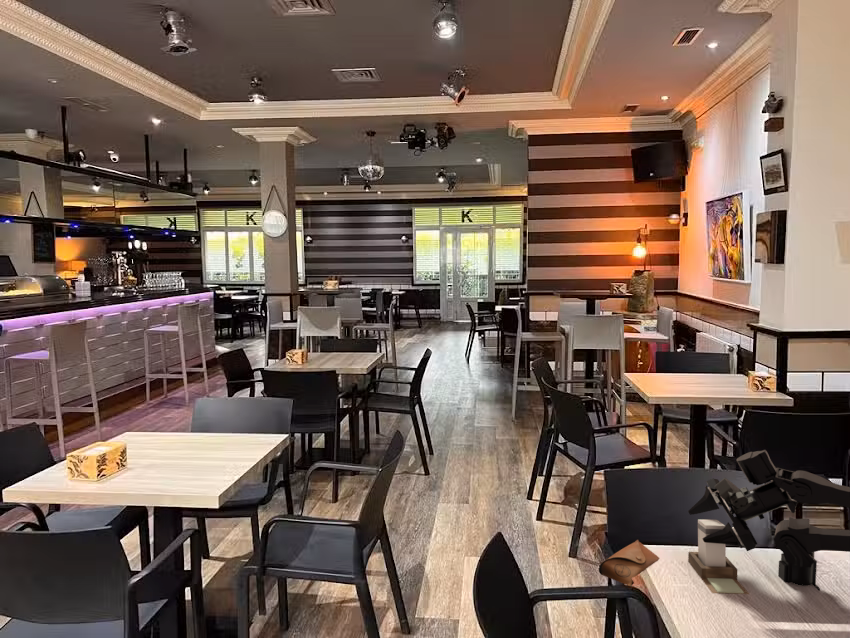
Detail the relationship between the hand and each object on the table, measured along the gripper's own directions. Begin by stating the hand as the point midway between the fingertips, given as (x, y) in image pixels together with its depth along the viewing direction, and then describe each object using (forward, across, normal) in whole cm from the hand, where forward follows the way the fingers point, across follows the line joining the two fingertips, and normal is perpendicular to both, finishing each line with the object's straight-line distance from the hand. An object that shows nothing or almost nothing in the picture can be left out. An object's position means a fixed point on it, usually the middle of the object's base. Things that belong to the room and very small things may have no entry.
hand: (695, 526), depth 141 cm
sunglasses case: (+18, +3, +2) cm, 18 cm away
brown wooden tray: (+2, +9, +8) cm, 12 cm away
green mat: (+1, +13, +7) cm, 15 cm away
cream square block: (+2, +6, +8) cm, 10 cm away
